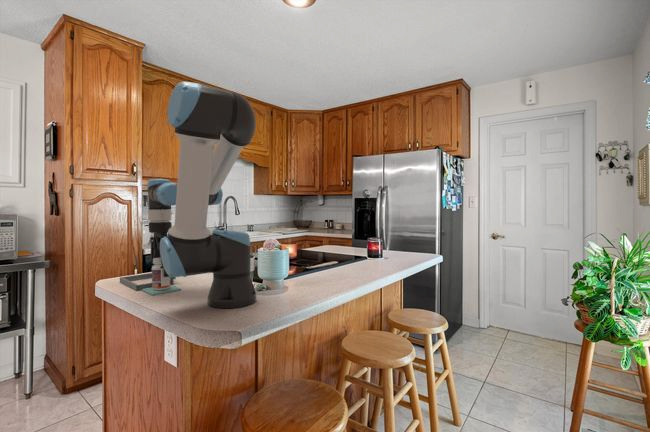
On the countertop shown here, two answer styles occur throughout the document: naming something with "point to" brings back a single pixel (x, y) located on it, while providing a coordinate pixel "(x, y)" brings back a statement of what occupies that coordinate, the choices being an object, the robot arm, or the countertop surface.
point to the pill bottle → (158, 275)
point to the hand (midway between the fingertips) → (161, 283)
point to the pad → (156, 292)
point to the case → (137, 287)
